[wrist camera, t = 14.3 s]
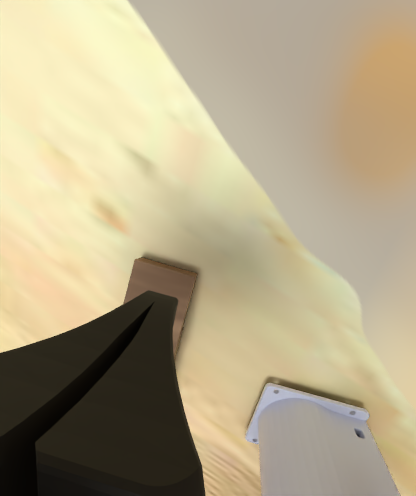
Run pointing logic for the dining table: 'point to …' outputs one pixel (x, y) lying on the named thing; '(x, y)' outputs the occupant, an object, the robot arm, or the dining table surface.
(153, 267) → the brown wooden block
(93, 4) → the dining table surface
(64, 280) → the dining table surface
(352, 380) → the dining table surface
